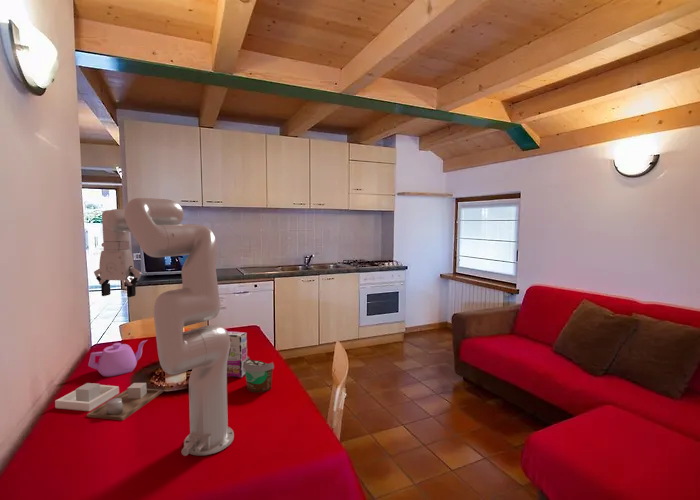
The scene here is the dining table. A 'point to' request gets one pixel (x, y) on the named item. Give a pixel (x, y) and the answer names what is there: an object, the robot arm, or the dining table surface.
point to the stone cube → (88, 392)
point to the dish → (72, 404)
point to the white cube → (137, 390)
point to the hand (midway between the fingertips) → (118, 295)
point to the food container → (258, 375)
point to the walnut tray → (125, 405)
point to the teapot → (116, 359)
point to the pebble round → (114, 406)
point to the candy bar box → (237, 354)
